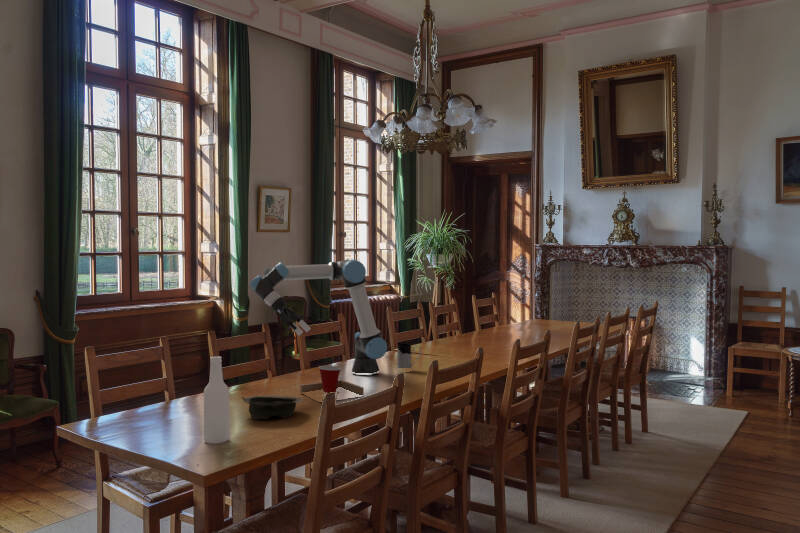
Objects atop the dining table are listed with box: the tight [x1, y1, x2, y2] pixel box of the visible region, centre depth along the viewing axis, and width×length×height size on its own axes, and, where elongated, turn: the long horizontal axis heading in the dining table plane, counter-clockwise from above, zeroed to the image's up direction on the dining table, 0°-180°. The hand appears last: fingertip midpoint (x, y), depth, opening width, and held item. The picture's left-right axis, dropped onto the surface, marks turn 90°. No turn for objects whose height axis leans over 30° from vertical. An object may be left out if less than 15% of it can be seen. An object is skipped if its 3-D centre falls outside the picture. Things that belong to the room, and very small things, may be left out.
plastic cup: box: [318, 365, 342, 393], centre depth 301 cm, size 11×11×12 cm
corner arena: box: [299, 379, 365, 401], centre depth 298 cm, size 22×22×4 cm
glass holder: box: [396, 343, 422, 369], centre depth 359 cm, size 9×14×15 cm, turn 107°
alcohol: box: [203, 355, 231, 445], centre depth 227 cm, size 9×9×30 cm
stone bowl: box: [242, 395, 304, 421], centre depth 262 cm, size 25×25×9 cm
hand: (305, 332), depth 315 cm, fingers open, 13 cm apart
